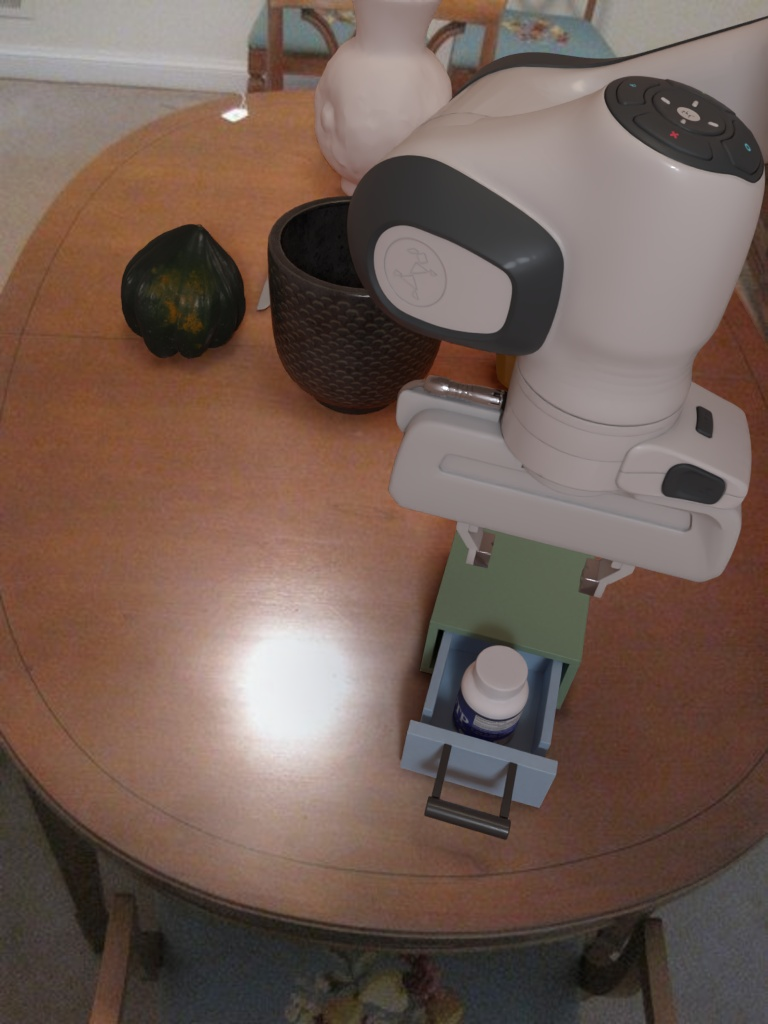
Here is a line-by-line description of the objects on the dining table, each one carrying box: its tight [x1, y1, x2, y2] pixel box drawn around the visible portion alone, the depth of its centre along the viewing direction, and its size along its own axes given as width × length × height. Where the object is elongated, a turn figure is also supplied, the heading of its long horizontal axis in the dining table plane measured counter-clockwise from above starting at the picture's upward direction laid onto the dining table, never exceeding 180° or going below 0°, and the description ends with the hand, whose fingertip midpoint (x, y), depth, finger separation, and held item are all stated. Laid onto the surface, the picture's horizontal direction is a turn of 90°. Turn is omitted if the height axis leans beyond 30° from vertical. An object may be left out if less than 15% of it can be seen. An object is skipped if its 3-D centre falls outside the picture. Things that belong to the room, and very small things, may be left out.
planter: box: [266, 195, 442, 416], centre depth 95 cm, size 20×20×19 cm
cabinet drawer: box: [399, 631, 563, 841], centre depth 68 cm, size 18×11×6 cm, turn 165°
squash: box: [120, 223, 247, 360], centre depth 102 cm, size 14×15×15 cm
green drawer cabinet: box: [419, 528, 596, 710], centre depth 77 cm, size 14×13×8 cm
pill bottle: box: [452, 645, 529, 746], centre depth 68 cm, size 5×5×9 cm
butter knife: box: [256, 276, 270, 311], centre depth 119 cm, size 1×24×3 cm
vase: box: [313, 0, 453, 196], centre depth 124 cm, size 19×21×30 cm
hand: (533, 573), depth 56 cm, fingers open, 6 cm apart
